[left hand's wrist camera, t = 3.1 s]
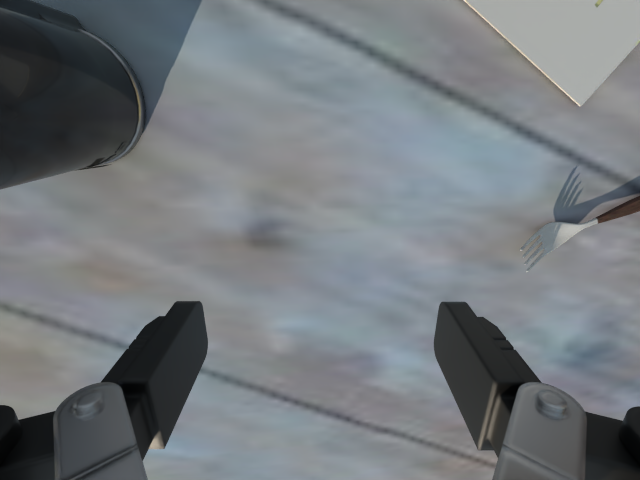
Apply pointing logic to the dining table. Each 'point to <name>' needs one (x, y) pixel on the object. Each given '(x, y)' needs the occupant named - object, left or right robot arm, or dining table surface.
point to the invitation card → (567, 37)
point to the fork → (573, 229)
